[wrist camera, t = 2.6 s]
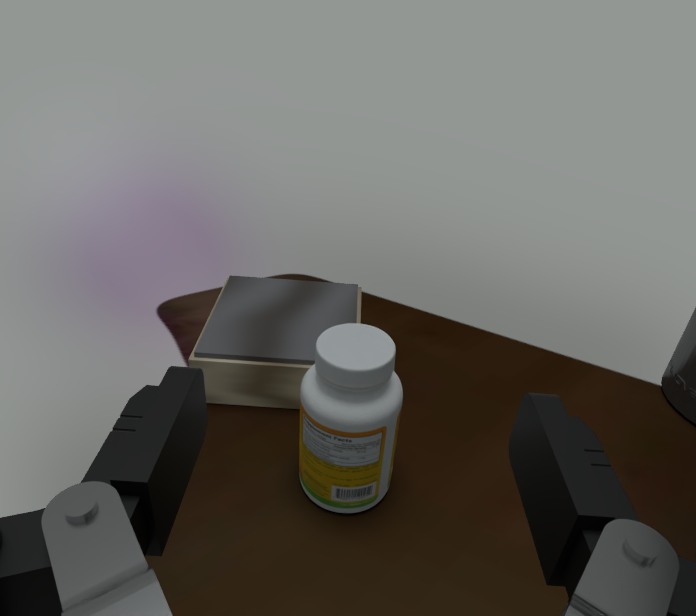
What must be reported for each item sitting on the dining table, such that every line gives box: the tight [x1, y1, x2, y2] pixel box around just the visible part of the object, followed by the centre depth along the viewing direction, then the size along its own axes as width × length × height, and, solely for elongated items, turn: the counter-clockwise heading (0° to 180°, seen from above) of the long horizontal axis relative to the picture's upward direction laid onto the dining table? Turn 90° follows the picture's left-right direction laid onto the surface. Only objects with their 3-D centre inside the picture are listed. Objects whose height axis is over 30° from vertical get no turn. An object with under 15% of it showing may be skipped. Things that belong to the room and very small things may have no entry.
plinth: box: [189, 276, 361, 409], centre depth 40 cm, size 11×11×4 cm
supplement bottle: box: [299, 323, 403, 513], centre depth 29 cm, size 5×5×10 cm
